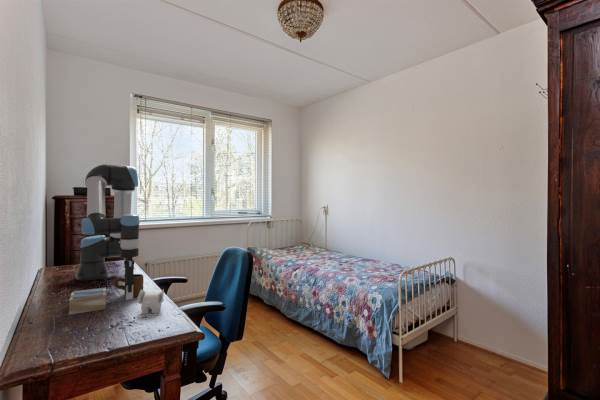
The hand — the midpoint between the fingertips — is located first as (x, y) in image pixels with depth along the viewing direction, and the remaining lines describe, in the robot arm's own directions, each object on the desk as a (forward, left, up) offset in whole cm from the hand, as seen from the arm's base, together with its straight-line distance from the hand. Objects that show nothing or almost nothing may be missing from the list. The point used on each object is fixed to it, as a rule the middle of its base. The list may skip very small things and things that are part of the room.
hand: (128, 295), depth 140 cm
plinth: (+7, -15, 0) cm, 17 cm away
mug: (0, 0, -1) cm, 1 cm away
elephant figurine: (+24, +7, -1) cm, 25 cm away
